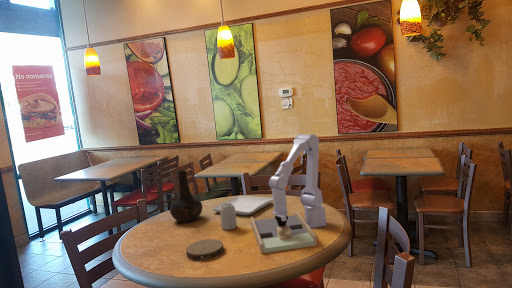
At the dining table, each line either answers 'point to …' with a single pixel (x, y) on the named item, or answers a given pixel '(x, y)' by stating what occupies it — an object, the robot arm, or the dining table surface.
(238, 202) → the square plate
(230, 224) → the can
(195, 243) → the grey brown round disc
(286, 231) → the maple block
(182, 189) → the glass bottle
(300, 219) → the box
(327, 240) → the dining table surface
